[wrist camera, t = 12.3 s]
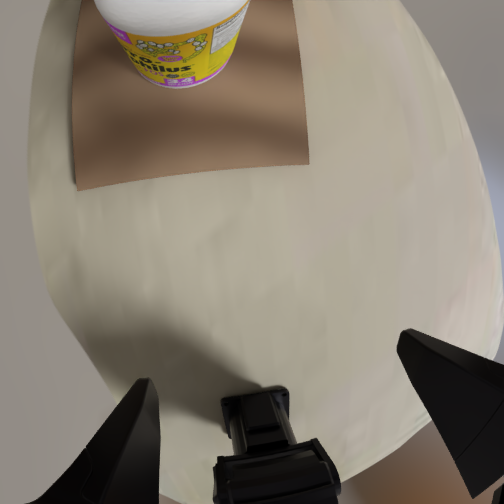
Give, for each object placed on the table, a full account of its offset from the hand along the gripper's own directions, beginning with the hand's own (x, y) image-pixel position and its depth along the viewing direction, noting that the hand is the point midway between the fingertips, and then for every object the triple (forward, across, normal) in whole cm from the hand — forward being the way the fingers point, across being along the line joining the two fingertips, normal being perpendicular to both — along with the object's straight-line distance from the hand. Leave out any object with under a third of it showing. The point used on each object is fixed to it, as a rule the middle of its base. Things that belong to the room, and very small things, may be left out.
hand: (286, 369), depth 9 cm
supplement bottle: (+13, +3, -14) cm, 19 cm away
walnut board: (+14, +3, -14) cm, 20 cm away
